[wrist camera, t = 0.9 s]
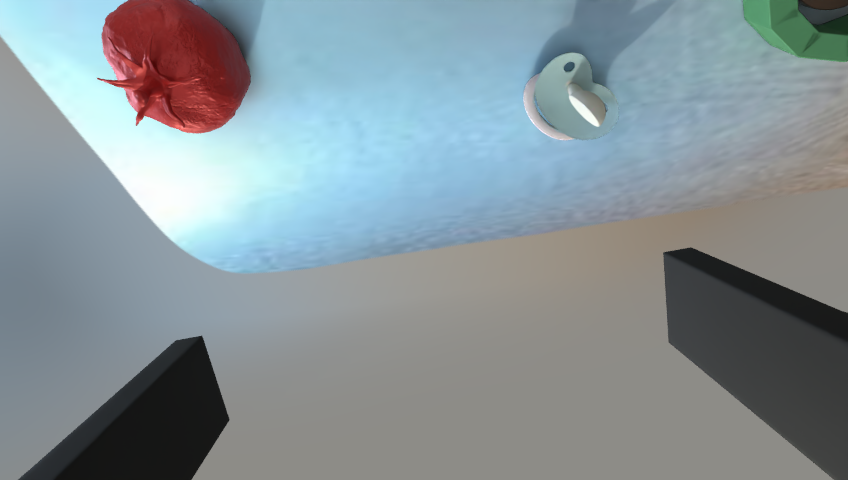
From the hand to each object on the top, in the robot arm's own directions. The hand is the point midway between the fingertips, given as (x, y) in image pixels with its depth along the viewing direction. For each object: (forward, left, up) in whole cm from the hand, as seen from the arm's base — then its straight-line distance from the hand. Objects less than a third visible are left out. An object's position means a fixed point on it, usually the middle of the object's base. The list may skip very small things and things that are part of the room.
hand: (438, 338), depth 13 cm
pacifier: (+1, +8, -29) cm, 30 cm away
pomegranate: (+1, -22, -29) cm, 36 cm away
